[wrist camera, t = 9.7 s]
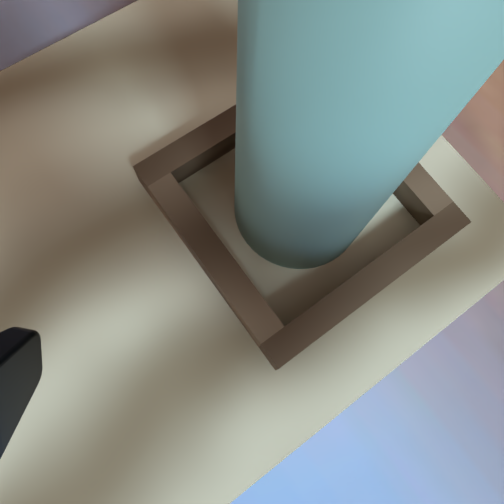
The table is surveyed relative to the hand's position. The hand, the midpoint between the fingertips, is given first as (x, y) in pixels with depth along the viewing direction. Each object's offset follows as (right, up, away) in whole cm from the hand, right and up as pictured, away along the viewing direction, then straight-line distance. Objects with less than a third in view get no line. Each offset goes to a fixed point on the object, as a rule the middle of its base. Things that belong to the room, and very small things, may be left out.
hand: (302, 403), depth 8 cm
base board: (-4, +3, +12) cm, 13 cm away
